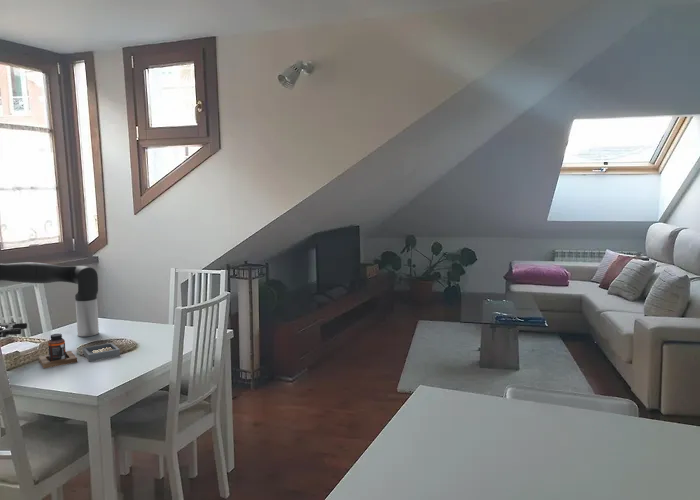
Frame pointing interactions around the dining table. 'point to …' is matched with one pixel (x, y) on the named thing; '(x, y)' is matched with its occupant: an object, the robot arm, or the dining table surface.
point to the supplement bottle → (56, 347)
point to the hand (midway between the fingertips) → (24, 328)
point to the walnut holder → (47, 364)
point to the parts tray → (100, 355)
